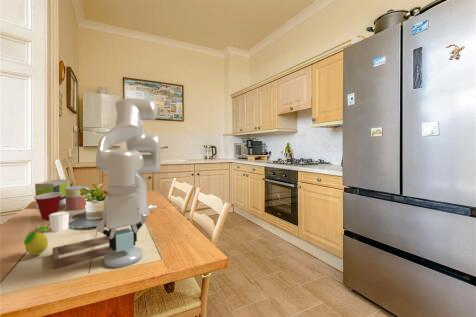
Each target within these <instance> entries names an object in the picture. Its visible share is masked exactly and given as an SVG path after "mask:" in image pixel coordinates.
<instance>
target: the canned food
mask: <svg viewBox="0 0 476 317" xmlns="http://www.w3.org/2000/svg"><path fill="white" fill-rule="evenodd" d="M81 188H89V189H90V186H89V185H76V186H75V185H74V186H70V187H67V188H65V198H66V204H65V211H66V212H76V211H83V210H86V209H85V205H86V200H85V199H84V198H83V197H82V196H81V195H80V189H81Z"/></svg>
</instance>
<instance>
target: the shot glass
mask: <svg viewBox="0 0 476 317" xmlns="http://www.w3.org/2000/svg"><path fill="white" fill-rule="evenodd" d="M69 218H70V211H58V212H56V213H52V214H50V215H49V219H50V220H49V224H50V230H51V232H52V233H58V232H59V233H60V232H64V231H67V230H68V229H69V221H70V220H69Z"/></svg>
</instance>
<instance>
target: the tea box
mask: <svg viewBox="0 0 476 317" xmlns="http://www.w3.org/2000/svg"><path fill="white" fill-rule="evenodd" d="M70 183H71V182H70V179H64V178H63V179H50V180H46V181H42V182H37V183H35V184H34V190H35V196H37V195H41V194H45V193H52V192H61V193H62V195H61V198H60V204H59V207H62V206H63V205H66V198H65V188H67V187H71V186H70ZM35 202H36V201H35ZM35 205H36V209H37V210H39V207H38V204H37V202H36V203H35Z"/></svg>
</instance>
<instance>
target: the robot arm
mask: <svg viewBox="0 0 476 317" xmlns="http://www.w3.org/2000/svg"><path fill="white" fill-rule="evenodd" d="M115 109H116V120H115V126H114V127H112V128H111V129H109V130H108V131H107V132H105V134H103V136H102V137H101V138H100V139H99V142H98V145H97V150H96V153H95V154H96V155H95V165H96V168H97V170H99V171H100V172H101V173H102V172H103V173H107V178H108V179H107V181H108V182H107V184H108V185H107V186H108V189H107V190H108V194H107V195H105V196H104V203H103V218H102V220H101V221H100V222H99V223H98V225H97V226H96V228H95V231H96V232H99V233H100V234H103V235H104V236H107V237H109V243H108V246H109V247H110V248H112V250H113V251H115V250H116V238H115V236H114V234H115V231H117V229H119V228H124V227H130V229H131V230H132V231H133V234H134V246H136V242H137V241H138V232H139V230H140V229H141V228H142V227H143V225H144V224H145V223H146V222H147V221H148V218H147V217H148V216H149V215H151V210H156V209H157V205H156V204H154V205H152V204H148V186H147V184H148V183H147V182H148V181H147V179H146V177H145V176H144V175H143V173H157V172H159V171H160V170H161V167H162V160H161V158H162V155H161V152H162V150H161V148H162V147H161V139H160V137H159V135H157V134H155V133H145V124H144V121H155V120H156V119H157V116H158V111H159V110H158V105H157V103H156V101H155V100H152V99H146V98H131V97H130V98H129V97H128V98H127V97H126V98H123V99H122V98H121V99H118V100H116V101H115ZM124 142H125V144H126V149H111V148H112V147H114V146H115V145H118V144H120V143H124ZM104 227H106V228H104ZM107 229H108V230H107Z"/></svg>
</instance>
